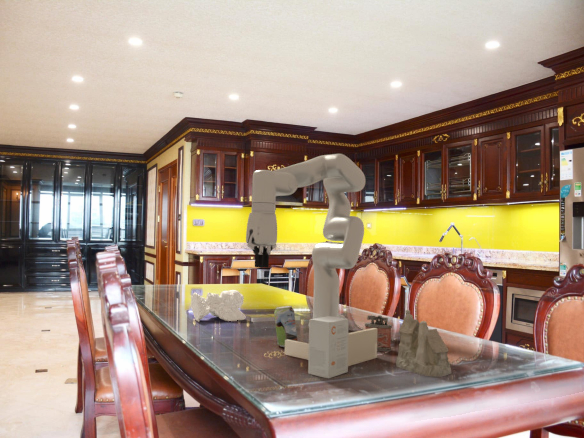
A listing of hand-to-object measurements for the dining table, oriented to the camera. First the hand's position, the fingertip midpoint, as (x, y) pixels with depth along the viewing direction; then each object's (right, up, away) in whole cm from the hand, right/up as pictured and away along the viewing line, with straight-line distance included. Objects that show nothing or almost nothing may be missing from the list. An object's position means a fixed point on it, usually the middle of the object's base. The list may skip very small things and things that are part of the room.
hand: (261, 266), depth 155 cm
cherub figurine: (-20, -25, +38) cm, 50 cm away
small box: (+18, -22, -37) cm, 47 cm away
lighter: (+35, -24, -8) cm, 43 cm away
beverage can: (+8, -23, -8) cm, 26 cm away
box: (+20, -23, -19) cm, 36 cm away
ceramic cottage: (+45, -24, -29) cm, 58 cm away
